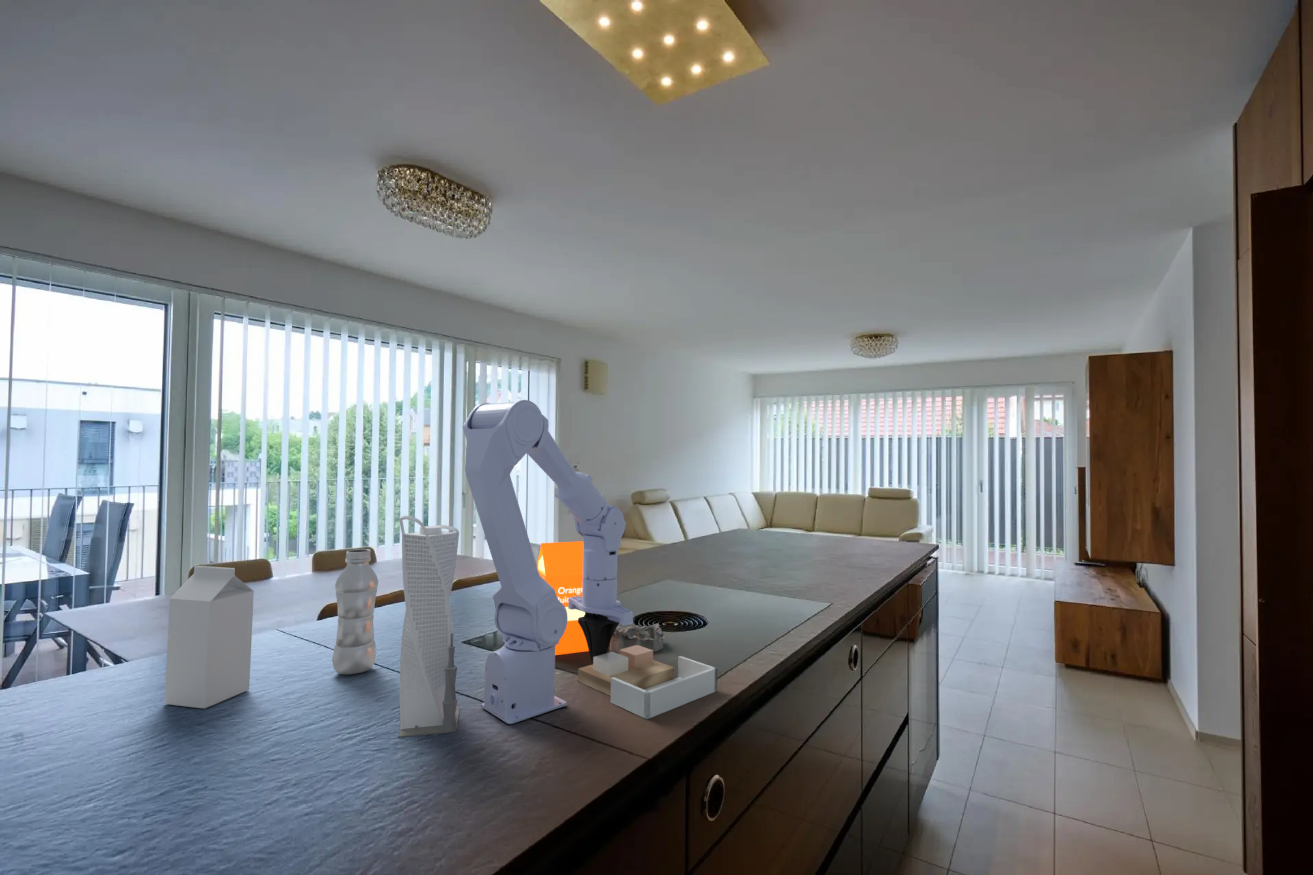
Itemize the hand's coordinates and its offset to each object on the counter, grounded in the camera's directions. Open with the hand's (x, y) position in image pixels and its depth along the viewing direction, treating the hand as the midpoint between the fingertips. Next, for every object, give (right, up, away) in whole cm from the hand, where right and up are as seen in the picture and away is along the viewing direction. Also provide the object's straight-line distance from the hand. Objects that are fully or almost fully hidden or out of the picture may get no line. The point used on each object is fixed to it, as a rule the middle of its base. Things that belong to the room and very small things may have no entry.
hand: (598, 660), depth 96 cm
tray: (+11, -3, -8) cm, 14 cm away
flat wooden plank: (+5, -3, -1) cm, 6 cm away
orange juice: (-9, -4, +15) cm, 18 cm away
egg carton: (+5, -4, +17) cm, 18 cm away
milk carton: (-56, -2, -11) cm, 57 cm away
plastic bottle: (-41, -2, +1) cm, 41 cm away
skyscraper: (-22, -2, -17) cm, 28 cm away
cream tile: (+2, -1, -2) cm, 3 cm away
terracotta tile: (+6, -1, +2) cm, 6 cm away
